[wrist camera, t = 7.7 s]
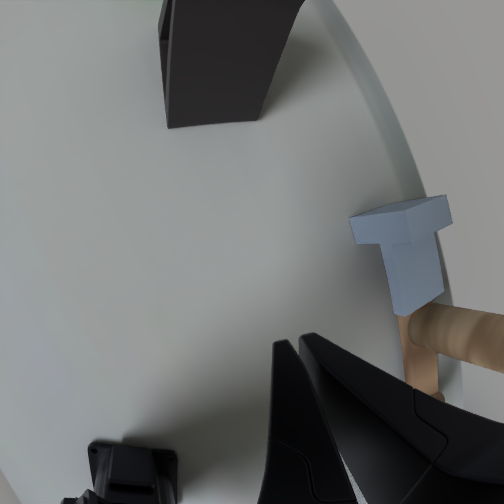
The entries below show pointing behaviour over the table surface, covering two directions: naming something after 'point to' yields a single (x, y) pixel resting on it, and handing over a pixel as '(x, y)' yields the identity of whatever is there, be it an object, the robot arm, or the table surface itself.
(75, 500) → the robot arm
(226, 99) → the phone stand
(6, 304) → the table surface
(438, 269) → the bracket
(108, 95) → the table surface
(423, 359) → the swing link
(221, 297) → the table surface
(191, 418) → the table surface
